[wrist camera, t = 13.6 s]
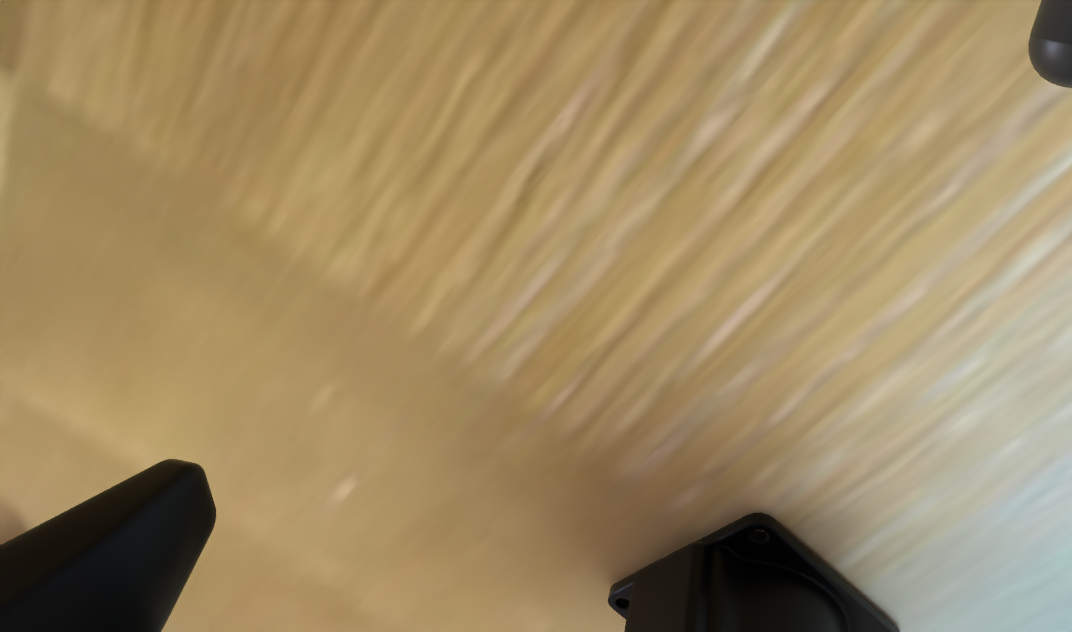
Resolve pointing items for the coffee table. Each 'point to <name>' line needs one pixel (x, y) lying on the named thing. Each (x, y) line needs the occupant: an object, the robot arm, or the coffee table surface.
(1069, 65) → the ladle
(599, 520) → the coffee table surface
